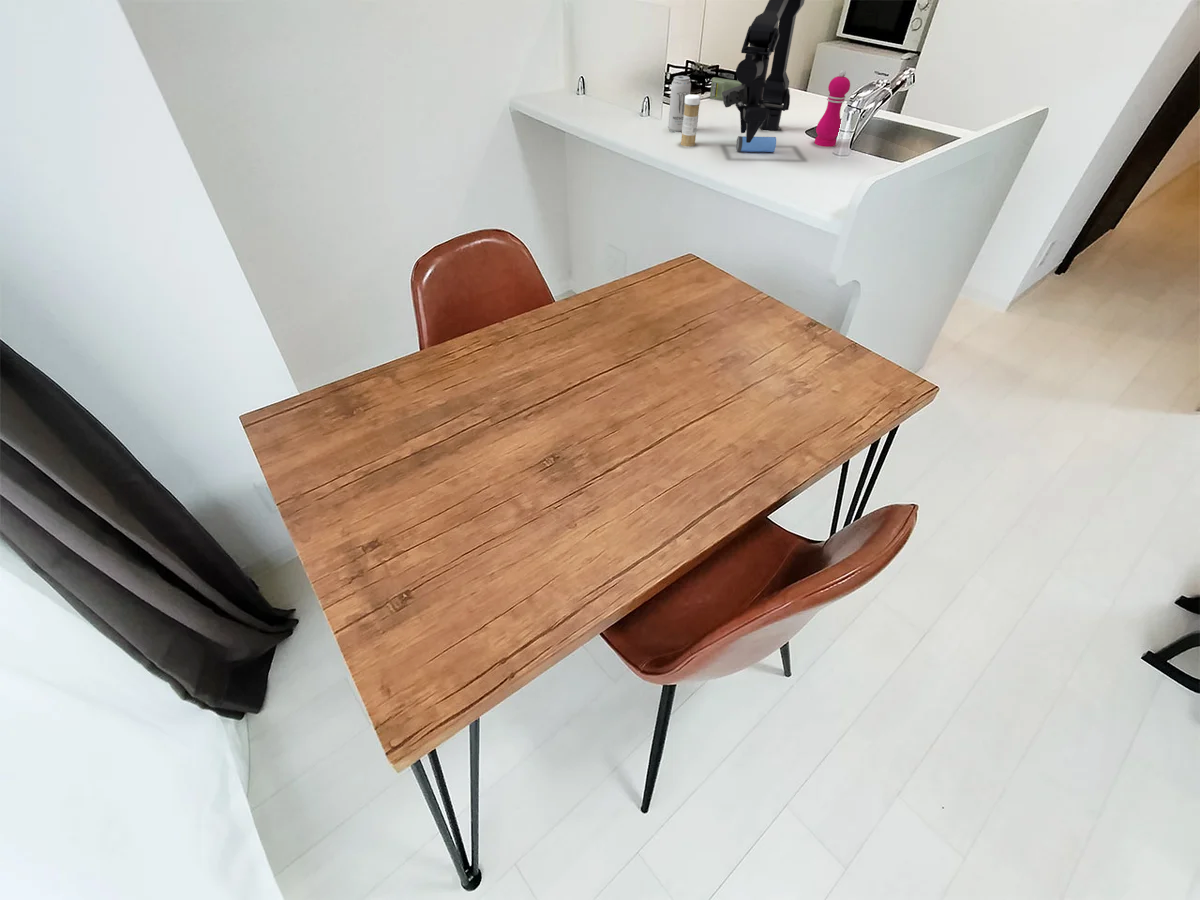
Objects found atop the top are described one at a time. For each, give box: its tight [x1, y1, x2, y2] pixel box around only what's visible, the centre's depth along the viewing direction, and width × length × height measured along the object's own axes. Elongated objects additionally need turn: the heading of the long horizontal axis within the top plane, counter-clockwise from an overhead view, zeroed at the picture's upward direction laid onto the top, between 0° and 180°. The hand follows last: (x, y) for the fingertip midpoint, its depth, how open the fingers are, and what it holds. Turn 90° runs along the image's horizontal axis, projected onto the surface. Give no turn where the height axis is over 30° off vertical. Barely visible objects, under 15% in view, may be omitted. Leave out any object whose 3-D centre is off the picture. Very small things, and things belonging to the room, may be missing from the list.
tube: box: [735, 135, 777, 153], centre depth 179 cm, size 4×11×4 cm, turn 90°
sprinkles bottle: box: [680, 93, 702, 147], centre depth 180 cm, size 5×5×14 cm
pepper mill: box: [814, 69, 851, 148], centre depth 180 cm, size 7×7×20 cm
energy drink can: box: [667, 75, 692, 134], centre depth 190 cm, size 6×6×15 cm
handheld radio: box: [709, 77, 741, 101], centre depth 219 cm, size 7×3×25 cm
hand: (745, 137), depth 177 cm, fingers open, 9 cm apart
